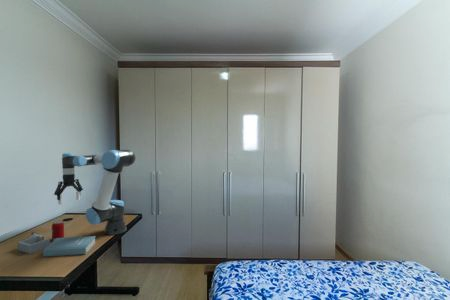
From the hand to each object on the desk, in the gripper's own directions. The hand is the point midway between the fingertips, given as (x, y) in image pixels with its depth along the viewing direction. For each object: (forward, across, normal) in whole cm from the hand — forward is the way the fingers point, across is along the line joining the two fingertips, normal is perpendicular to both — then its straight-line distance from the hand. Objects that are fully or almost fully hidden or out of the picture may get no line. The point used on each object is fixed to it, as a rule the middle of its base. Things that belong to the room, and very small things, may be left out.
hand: (69, 202), depth 177 cm
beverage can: (+22, +14, +9) cm, 28 cm away
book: (+23, +21, +31) cm, 44 cm away
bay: (+22, +27, +10) cm, 36 cm away
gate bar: (+21, +20, -3) cm, 30 cm away
